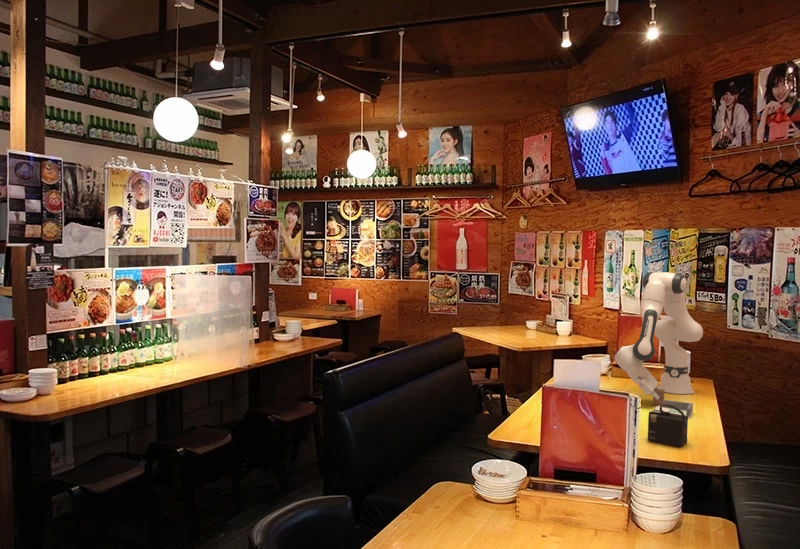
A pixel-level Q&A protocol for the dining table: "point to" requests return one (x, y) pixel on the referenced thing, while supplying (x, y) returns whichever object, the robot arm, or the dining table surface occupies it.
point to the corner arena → (683, 406)
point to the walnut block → (660, 400)
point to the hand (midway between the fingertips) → (660, 397)
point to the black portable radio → (667, 427)
